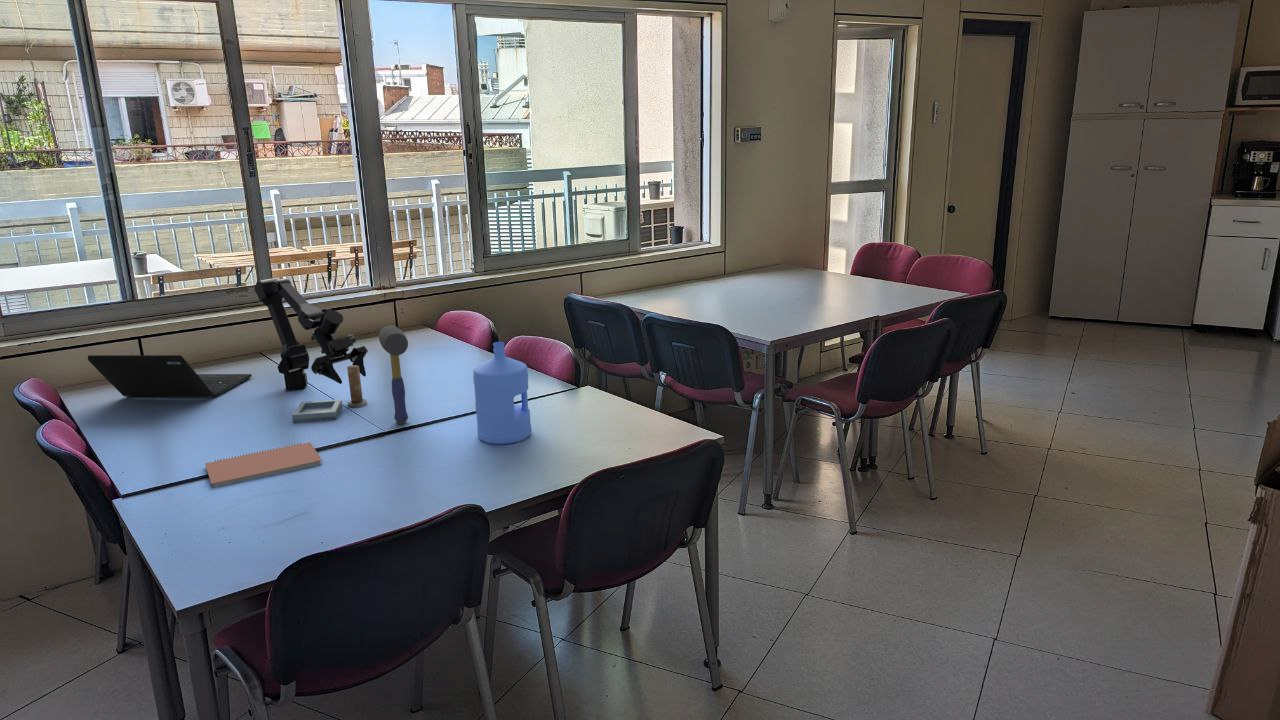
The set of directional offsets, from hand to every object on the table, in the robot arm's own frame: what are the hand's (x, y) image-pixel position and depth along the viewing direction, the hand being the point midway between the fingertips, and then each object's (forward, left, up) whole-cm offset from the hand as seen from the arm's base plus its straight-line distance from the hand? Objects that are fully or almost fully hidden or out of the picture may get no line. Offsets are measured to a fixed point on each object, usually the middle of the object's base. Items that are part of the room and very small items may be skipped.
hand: (353, 379), depth 274 cm
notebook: (-18, -47, -9) cm, 51 cm away
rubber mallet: (+16, -21, -9) cm, 28 cm away
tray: (-11, -7, -9) cm, 15 cm away
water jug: (+47, -39, -9) cm, 62 cm away
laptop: (-63, +27, -9) cm, 69 cm away
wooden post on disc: (0, 0, -9) cm, 9 cm away
